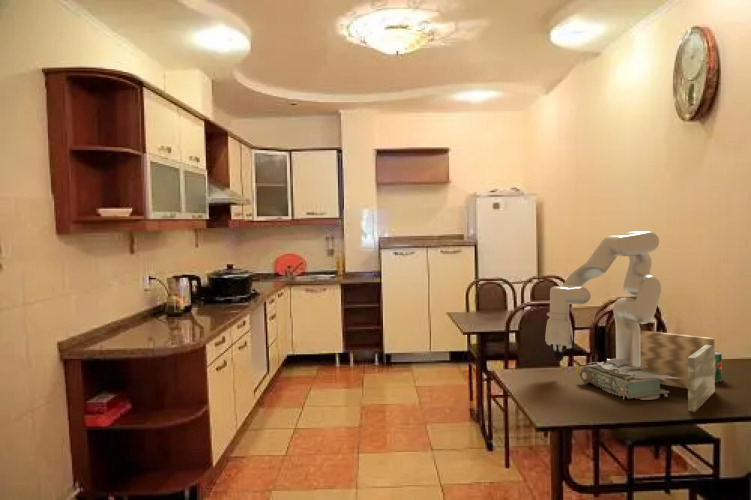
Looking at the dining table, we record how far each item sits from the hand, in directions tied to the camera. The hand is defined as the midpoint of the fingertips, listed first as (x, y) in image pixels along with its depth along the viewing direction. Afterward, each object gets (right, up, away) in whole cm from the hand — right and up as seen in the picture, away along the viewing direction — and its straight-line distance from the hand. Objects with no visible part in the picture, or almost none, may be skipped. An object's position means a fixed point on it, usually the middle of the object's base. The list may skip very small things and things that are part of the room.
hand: (558, 360), depth 215 cm
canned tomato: (+58, -6, -7) cm, 59 cm away
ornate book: (+20, -8, -17) cm, 27 cm away
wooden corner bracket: (+31, -7, -24) cm, 40 cm away
